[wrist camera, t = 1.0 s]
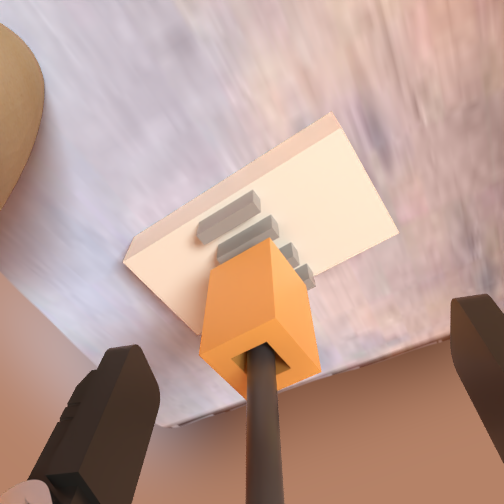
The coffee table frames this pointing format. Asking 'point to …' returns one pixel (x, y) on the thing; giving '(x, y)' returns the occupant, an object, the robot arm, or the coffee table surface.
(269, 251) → the sleeve
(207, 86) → the coffee table surface
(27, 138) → the plant pot
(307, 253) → the stand
